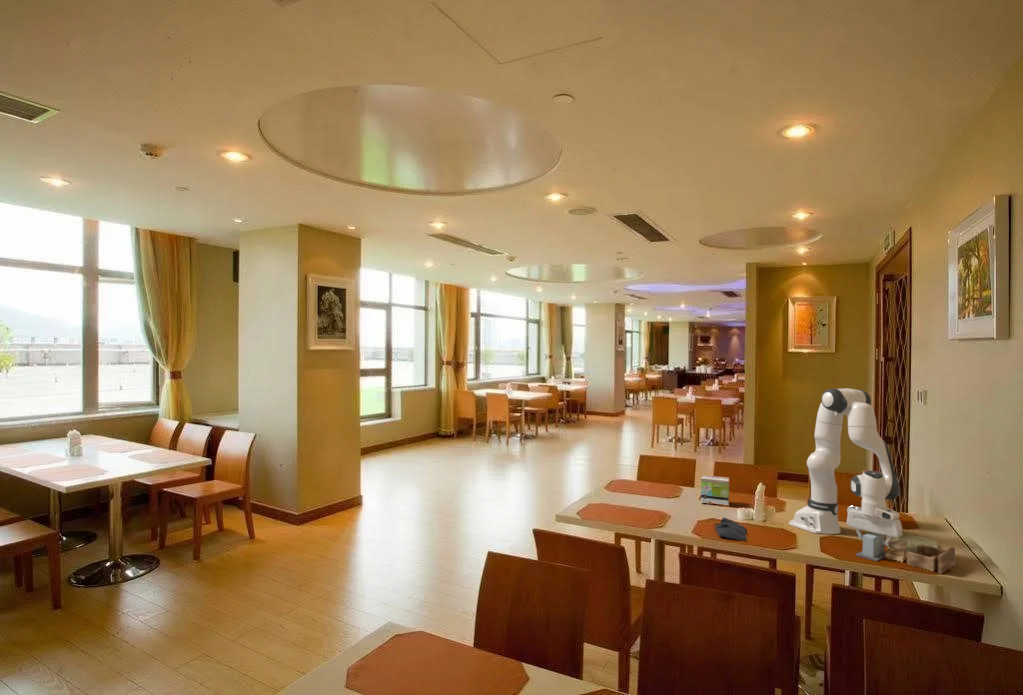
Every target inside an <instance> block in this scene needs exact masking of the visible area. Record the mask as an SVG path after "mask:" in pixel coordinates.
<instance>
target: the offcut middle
mask: <svg viewBox="0 0 1023 695" xmlns="http://www.w3.org/2000/svg"><path fill="white" fill-rule="evenodd" d="M889 551H890V554H892V555H896V556H901V557H904V556H905V554H906V552H907V548H903V549H899V550H898V549H894V548H891V547H890V550H889Z"/></svg>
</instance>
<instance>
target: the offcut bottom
mask: <svg viewBox="0 0 1023 695" xmlns="http://www.w3.org/2000/svg"><path fill="white" fill-rule="evenodd" d="M886 558H888V559H887V560H890V559H893V560H892V561H894V560H897V561H896V562H898V561H901V562H900V563H902V562H903V561H904V560H905V559H906V558H907V552H906V554H905V556H904V557H901V556H896V555H892V554H890V550H888V552H887V553H886V557H885V559H886ZM905 561H906V560H905ZM905 561H904V562H905ZM904 562H903V563H904Z"/></svg>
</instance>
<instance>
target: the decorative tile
mask: <svg viewBox="0 0 1023 695" xmlns="http://www.w3.org/2000/svg"><path fill="white" fill-rule="evenodd" d="M887 539H888V538H886V539H885V541H886V540H887ZM893 539H900V540H903V541H907V552H908V551H910V550H913V551H915V553H916V554H917V547H918V546H919V545H921V544H922V545H926V546H930V547H934V548H938V549H939V546H938V543H937V541H936V540H935V539H933V538H928V537H924V536H919V535H913V534H905V533H902V536H901V537H899V538H894V537H892V539H891V540H893ZM888 549H890V547H888V546H887V550H888Z"/></svg>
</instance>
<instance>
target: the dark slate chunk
mask: <svg viewBox="0 0 1023 695" xmlns="http://www.w3.org/2000/svg"><path fill="white" fill-rule="evenodd" d="M713 524H714V525H715V527H716V530H715V532H716V531H717V532H716V533H717V535H718V536H719V537H720V538H722V537H725V538H724V539H729V538H730V539H731V540H734V539H735V541H739V540H742V541H741V542H744V541H743V540H747V539H748V538H747V539H746V536H745V535H747V536H748V531H747V527H745V526H744V525H741V524H740V523H737V522H736V521H734V520H732V519H731V518H730V519H729V518H726V517H722V519H721V520H720V523H713ZM716 525H718V526H716ZM746 533H747V534H746Z"/></svg>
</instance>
